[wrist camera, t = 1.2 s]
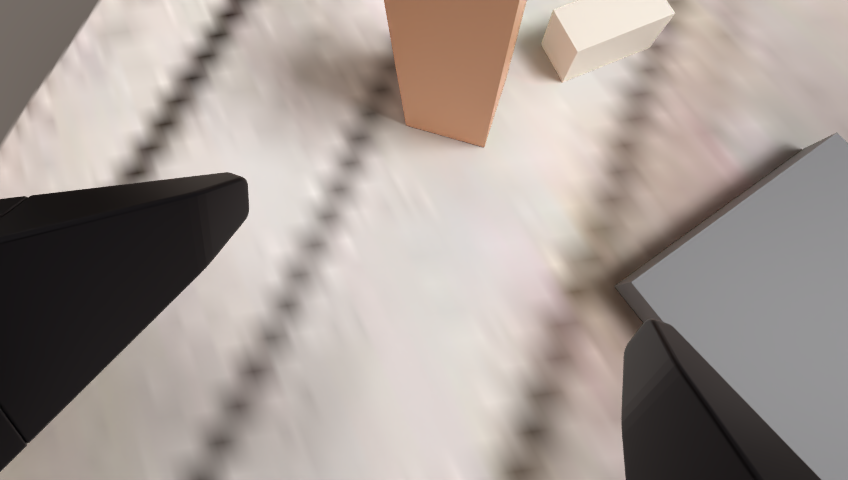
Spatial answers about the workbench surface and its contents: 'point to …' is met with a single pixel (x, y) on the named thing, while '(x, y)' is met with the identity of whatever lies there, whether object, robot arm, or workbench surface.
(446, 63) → the terracotta brick
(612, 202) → the workbench surface
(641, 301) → the charcoal board
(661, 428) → the robot arm
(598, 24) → the off-white brick
